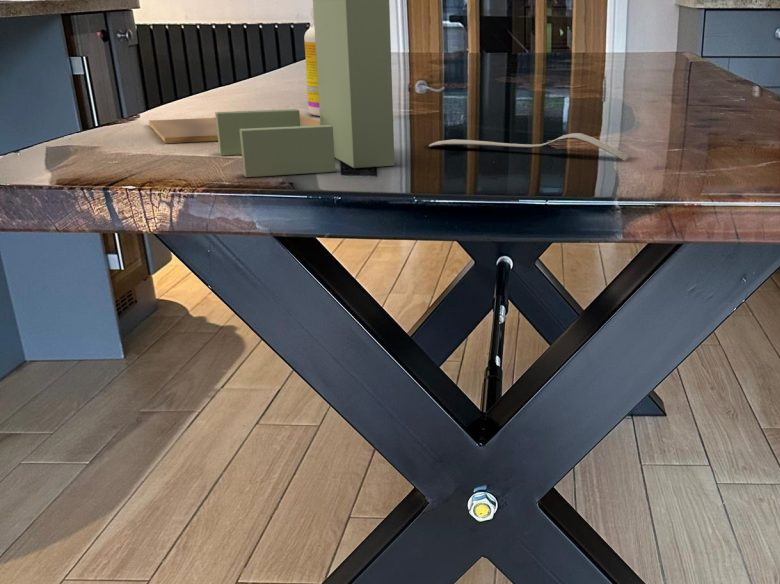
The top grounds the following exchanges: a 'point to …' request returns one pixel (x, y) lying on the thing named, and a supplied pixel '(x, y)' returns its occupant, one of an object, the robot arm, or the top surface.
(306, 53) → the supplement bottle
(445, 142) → the fork
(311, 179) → the top surface
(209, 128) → the cork mat
